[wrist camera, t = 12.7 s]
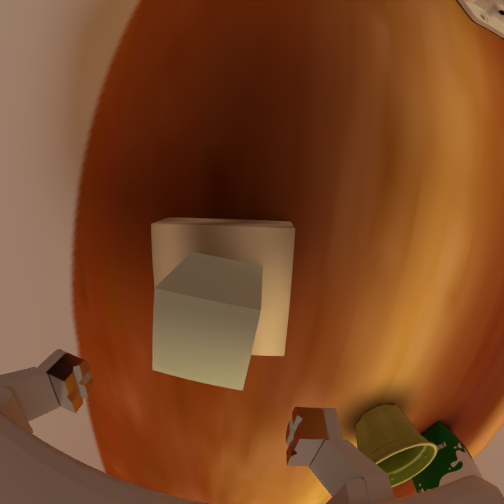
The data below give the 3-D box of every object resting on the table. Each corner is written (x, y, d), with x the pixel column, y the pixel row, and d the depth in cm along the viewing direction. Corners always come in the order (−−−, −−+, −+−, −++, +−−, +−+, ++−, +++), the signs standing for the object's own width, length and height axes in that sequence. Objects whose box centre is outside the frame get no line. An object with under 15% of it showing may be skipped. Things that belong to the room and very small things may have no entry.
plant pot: (330, 418, 27) (342, 476, 18) (403, 379, 25) (433, 431, 17) (355, 449, 29) (367, 498, 20) (417, 417, 27) (440, 462, 19)
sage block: (262, 265, 19) (261, 310, 12) (249, 328, 20) (242, 390, 14) (191, 251, 19) (154, 288, 12) (184, 314, 20) (152, 369, 14)
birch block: (290, 220, 22) (295, 228, 18) (281, 331, 25) (284, 356, 21) (169, 216, 23) (151, 223, 19) (174, 323, 25) (161, 345, 21)
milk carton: (441, 415, 27) (495, 514, 8) (457, 429, 28) (502, 511, 9) (394, 451, 29) (428, 553, 9) (416, 461, 30) (448, 545, 11)
